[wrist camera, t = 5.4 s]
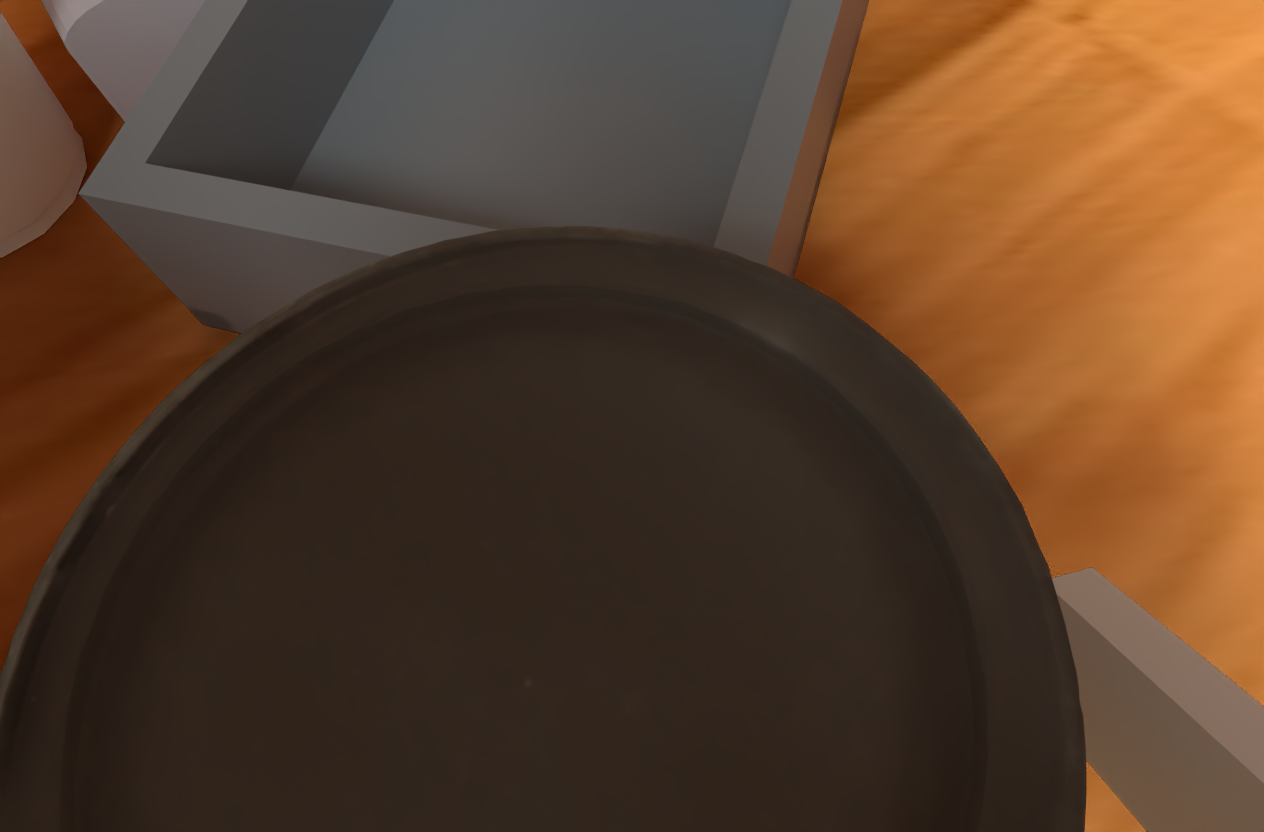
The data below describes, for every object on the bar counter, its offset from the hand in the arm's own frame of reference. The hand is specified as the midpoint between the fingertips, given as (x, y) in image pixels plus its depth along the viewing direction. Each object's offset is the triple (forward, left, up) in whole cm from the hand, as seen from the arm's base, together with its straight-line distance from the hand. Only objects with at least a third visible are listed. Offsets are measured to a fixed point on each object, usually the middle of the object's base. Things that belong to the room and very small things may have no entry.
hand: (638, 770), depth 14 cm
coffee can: (-1, 0, -8) cm, 8 cm away
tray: (-9, +17, -8) cm, 21 cm away
